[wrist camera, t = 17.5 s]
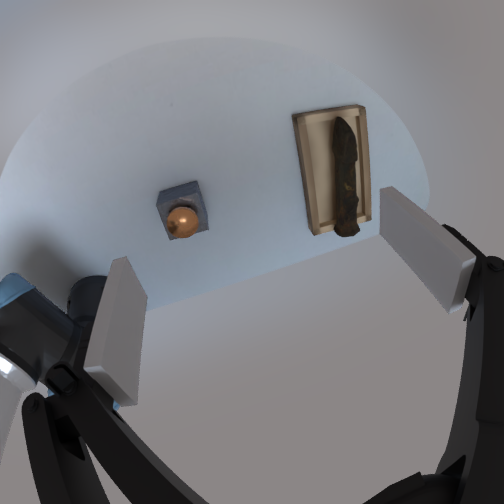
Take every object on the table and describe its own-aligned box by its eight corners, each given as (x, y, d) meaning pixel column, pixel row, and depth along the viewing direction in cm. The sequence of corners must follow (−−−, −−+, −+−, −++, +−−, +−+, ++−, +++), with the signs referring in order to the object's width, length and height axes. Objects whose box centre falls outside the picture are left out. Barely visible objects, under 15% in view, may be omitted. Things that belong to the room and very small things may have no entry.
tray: (308, 228, 54) (313, 235, 52) (291, 114, 43) (296, 117, 41) (364, 213, 55) (371, 220, 52) (357, 104, 43) (365, 107, 41)
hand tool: (352, 224, 52) (364, 237, 48) (331, 228, 52) (342, 242, 48) (352, 114, 42) (367, 120, 38) (327, 116, 41) (341, 121, 38)
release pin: (174, 219, 49) (172, 241, 43) (165, 195, 47) (162, 214, 41) (201, 212, 49) (202, 233, 44) (193, 187, 47) (193, 205, 41)
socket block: (171, 224, 50) (169, 240, 46) (159, 191, 46) (156, 205, 42) (207, 214, 50) (208, 229, 46) (196, 180, 46) (197, 192, 42)
